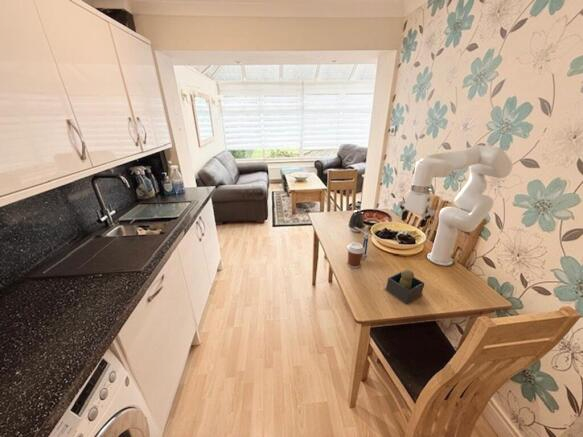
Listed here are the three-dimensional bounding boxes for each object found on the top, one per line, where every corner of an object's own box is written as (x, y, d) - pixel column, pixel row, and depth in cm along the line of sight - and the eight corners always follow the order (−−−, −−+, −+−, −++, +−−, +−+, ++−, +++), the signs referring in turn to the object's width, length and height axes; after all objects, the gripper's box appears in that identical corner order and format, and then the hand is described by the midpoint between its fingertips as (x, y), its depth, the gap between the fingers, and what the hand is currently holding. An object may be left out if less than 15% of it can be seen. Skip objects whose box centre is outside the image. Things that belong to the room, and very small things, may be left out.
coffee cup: (363, 270, 127) (365, 250, 122) (345, 268, 128) (347, 249, 124) (361, 260, 135) (364, 242, 130) (345, 258, 137) (347, 240, 132)
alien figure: (346, 249, 146) (349, 220, 139) (352, 247, 149) (356, 218, 141) (371, 265, 130) (376, 234, 123) (378, 262, 133) (383, 232, 125)
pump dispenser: (364, 233, 165) (367, 213, 159) (349, 233, 165) (351, 213, 159) (360, 227, 174) (363, 208, 168) (346, 227, 175) (348, 208, 169)
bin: (400, 281, 118) (403, 270, 115) (421, 294, 109) (424, 283, 107) (385, 289, 113) (388, 277, 110) (406, 303, 104) (409, 291, 101)
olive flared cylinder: (409, 297, 107) (414, 277, 102) (395, 292, 110) (399, 272, 105) (411, 289, 112) (416, 270, 107) (397, 284, 115) (402, 265, 110)
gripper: (444, 192, 102) (435, 227, 109) (408, 183, 116) (401, 215, 123) (434, 195, 99) (425, 231, 106) (398, 185, 112) (392, 218, 119)
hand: (412, 222), depth 114 cm, fingers open, 9 cm apart
